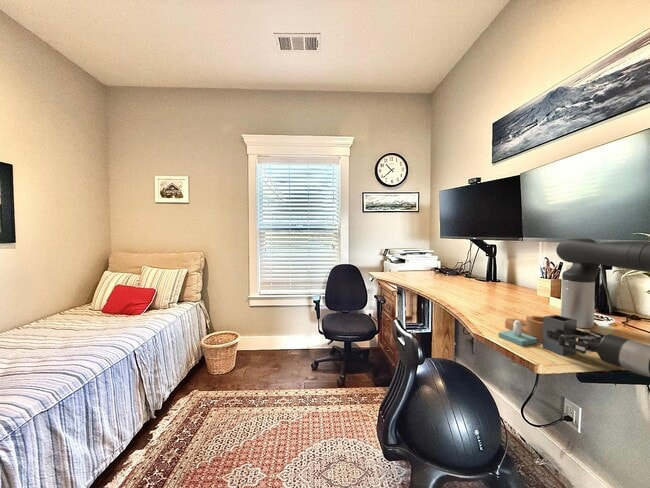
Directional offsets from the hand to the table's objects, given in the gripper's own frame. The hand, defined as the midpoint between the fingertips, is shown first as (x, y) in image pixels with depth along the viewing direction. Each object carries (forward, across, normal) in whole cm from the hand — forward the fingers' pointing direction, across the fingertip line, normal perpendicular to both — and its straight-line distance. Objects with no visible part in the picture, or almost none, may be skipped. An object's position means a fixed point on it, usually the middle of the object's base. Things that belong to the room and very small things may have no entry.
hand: (557, 331), depth 83 cm
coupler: (0, 0, -6) cm, 6 cm away
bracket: (+12, +6, -6) cm, 15 cm away
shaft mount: (+10, -4, -6) cm, 12 cm away
